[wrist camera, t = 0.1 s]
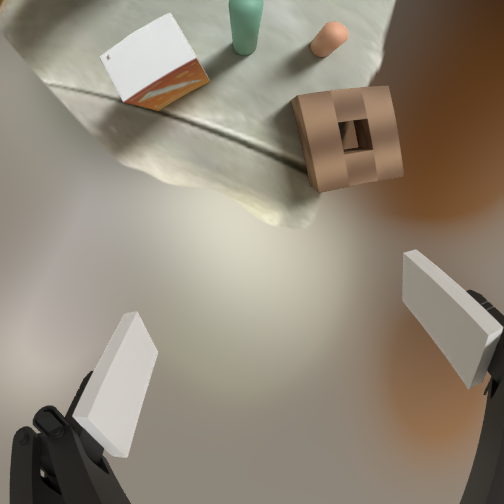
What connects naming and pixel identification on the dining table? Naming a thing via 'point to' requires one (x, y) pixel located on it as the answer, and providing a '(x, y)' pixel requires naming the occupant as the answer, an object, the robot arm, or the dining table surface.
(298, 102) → the collar block
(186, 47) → the small box
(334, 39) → the short dowel
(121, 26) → the dining table surface
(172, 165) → the dining table surface
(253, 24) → the long dowel
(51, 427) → the robot arm
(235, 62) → the dining table surface
